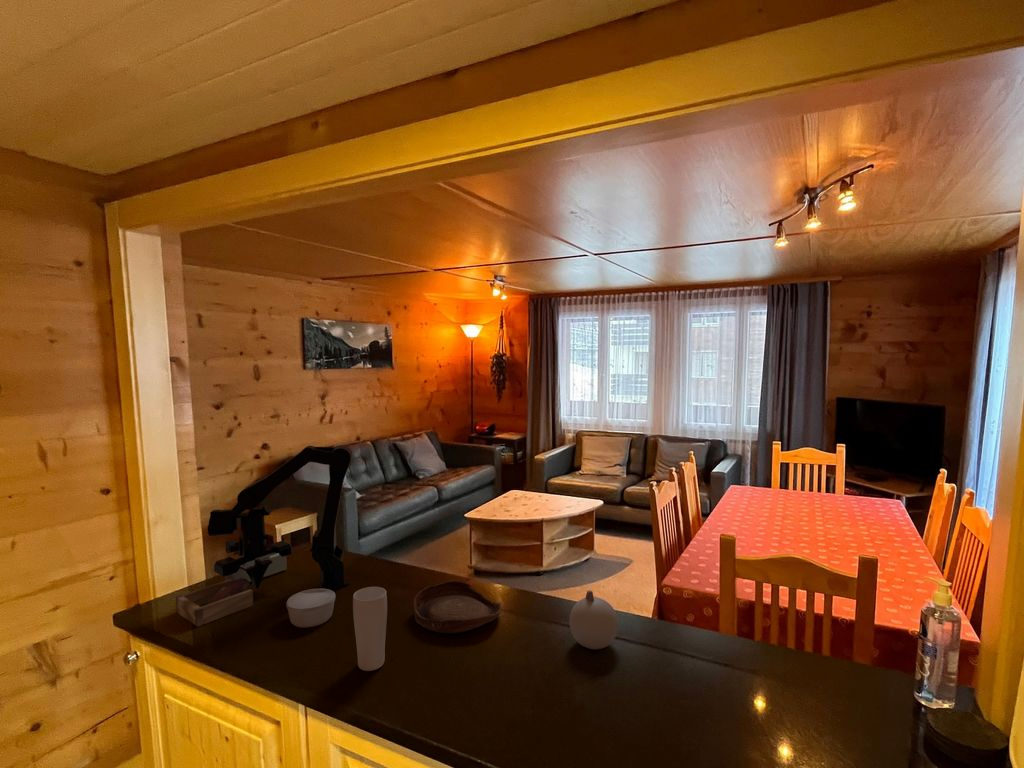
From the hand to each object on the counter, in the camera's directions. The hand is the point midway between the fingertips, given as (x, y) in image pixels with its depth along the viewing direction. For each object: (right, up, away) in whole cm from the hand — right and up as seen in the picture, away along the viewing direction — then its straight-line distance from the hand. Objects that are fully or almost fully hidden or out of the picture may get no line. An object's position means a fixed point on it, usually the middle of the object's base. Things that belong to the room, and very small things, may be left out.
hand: (256, 588), depth 139 cm
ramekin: (+21, -2, -14) cm, 25 cm away
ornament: (+88, -2, -27) cm, 92 cm away
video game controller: (-5, -2, -5) cm, 7 cm away
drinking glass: (+41, -3, -34) cm, 53 cm away
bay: (-6, -2, -8) cm, 10 cm away
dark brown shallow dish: (+56, -2, -14) cm, 58 cm away
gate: (-5, -1, +9) cm, 10 cm away
